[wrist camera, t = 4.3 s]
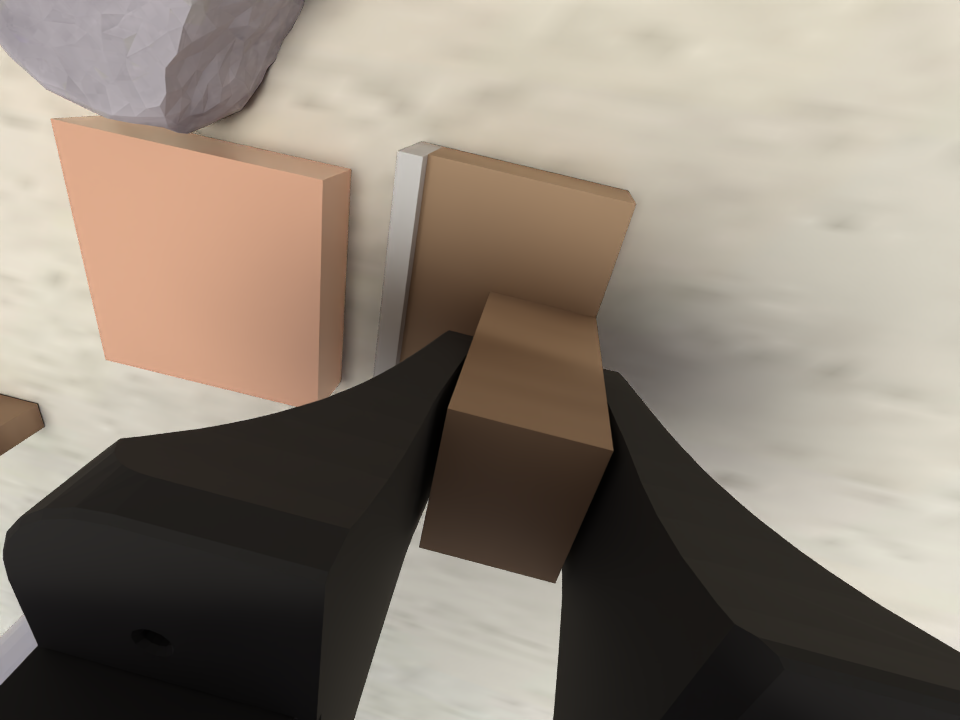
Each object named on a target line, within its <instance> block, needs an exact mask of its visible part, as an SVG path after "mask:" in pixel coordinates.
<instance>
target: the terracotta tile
mask: <svg viewBox="0 0 960 720" xmlns="http://www.w3.org/2000/svg"><path fill="white" fill-rule="evenodd" d="M51 123H52V127H53V131H54V136H55V140H56V144H57V149H58V153H59V158H60V162H61V166H62V171H63V175H64V179H65V184H66V188H67V193H68V197H69V201H70V206H71V210H72V215H73V219H74V223H75V228H76V232H77V236H78V241H79V245H80V250H81V254H82V258H83V263H84V267H85V272H86V276H87V280H88V285H89V289H90V293H91V298H92V302H93V307H94V311H95V315H96V320H97V324H98V329H99V333H100V337H101V342H102V346H103V350H104V355H105V359H106V360H109V361H113V362H117V363H121V364H125V365H129V366H133V367H137V368H141V369H146V370H150V371H154V372H158V373H162V374H166V375H170V376H174V377H178V378H182V379H186V380H190V381H194V382H198V383H202V384H206V385H211V386H215V387H219V388H223V389H227V390H231V391H235V392H239V393H243V394H247V395H251V396H255V397H259V398H263V399H267V400H272V401H276V402H280V403H284V404H288V405H292V406H296V407H298V406H302V405H305V404H308V403H311V402H315V401H318V400H321V399H324V398H327V397H329V396H330V395H331V393H332V392H333V391H334V390H335V388H336V387H337V386H338V384H339V383H340V382H341V370H342V350H343V329H344V309H345V288H346V268H347V247H348V227H349V206H350V186H351V169H348V168H344V167H339V166H335V165H330V164H326V163H321V162H317V161H312V160H308V159H303V158H299V157H294V156H290V155H285V154H281V153H276V152H272V151H268V150H263V149H259V148H254V147H250V146H245V145H241V144H236V143H232V142H227V141H223V140H218V139H214V138H209V137H205V136H200V135H196V134H192V133H188V134H184V133H177V132H174V131H172V130H169V129H166V128H163V127H156V126H150V125H142V124H133V123H128V122H122V121H117V120H112V119H107V118H105V117H103V116H87V117H70V118H53V119H51Z"/></svg>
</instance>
